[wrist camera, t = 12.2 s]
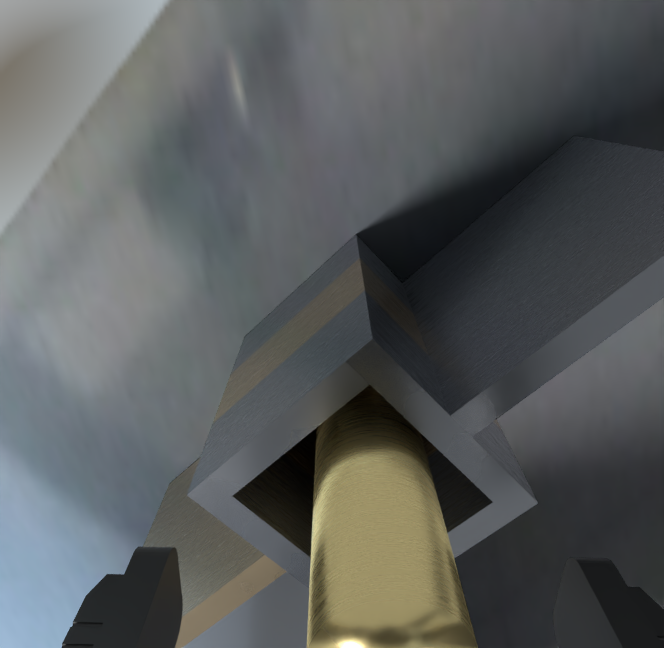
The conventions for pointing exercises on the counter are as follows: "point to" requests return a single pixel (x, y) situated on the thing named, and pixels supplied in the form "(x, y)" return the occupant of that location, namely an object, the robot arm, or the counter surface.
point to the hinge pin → (380, 538)
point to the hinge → (417, 367)
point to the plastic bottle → (263, 620)
